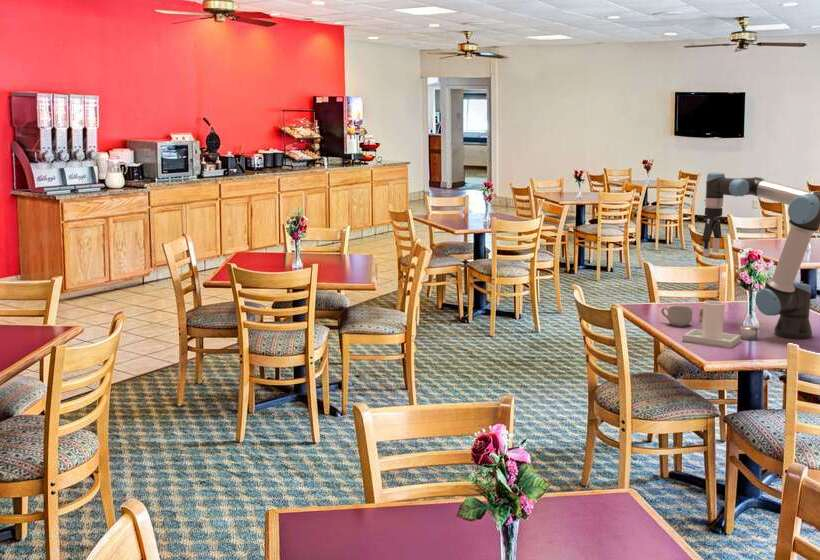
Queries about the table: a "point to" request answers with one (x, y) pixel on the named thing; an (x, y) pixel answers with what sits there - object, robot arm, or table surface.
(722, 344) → the tray
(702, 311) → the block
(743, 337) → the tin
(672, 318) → the teacup
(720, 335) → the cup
